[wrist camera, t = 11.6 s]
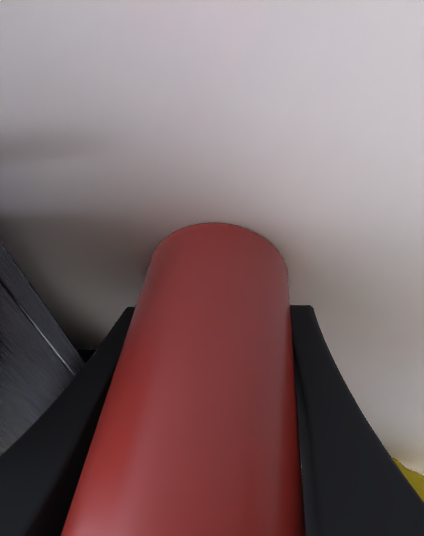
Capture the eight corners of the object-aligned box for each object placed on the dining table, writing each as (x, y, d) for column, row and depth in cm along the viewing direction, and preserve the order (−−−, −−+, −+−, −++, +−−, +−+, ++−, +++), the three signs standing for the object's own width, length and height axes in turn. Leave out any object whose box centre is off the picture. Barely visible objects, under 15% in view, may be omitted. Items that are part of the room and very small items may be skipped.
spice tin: (167, 319, 13) (104, 583, 8) (134, 225, 10) (-2, 548, 5) (286, 318, 13) (305, 609, 7) (288, 217, 10) (321, 586, 4)
